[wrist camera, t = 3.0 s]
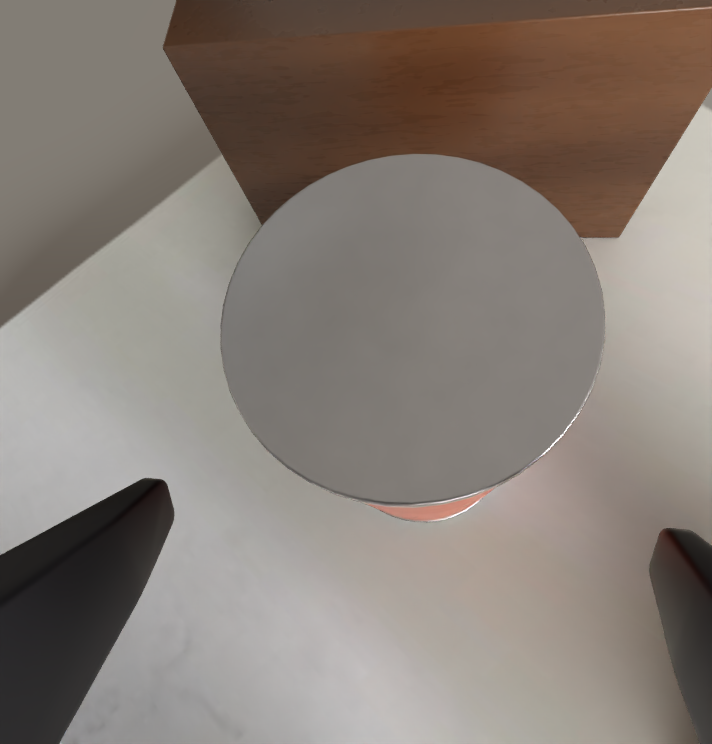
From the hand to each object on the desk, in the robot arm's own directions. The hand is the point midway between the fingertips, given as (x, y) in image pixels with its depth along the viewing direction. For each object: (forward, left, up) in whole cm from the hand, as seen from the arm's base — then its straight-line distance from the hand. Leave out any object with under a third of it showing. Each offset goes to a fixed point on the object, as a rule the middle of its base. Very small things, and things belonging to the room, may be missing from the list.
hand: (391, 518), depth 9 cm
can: (+3, +1, -10) cm, 11 cm away
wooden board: (+14, +4, -10) cm, 17 cm away
